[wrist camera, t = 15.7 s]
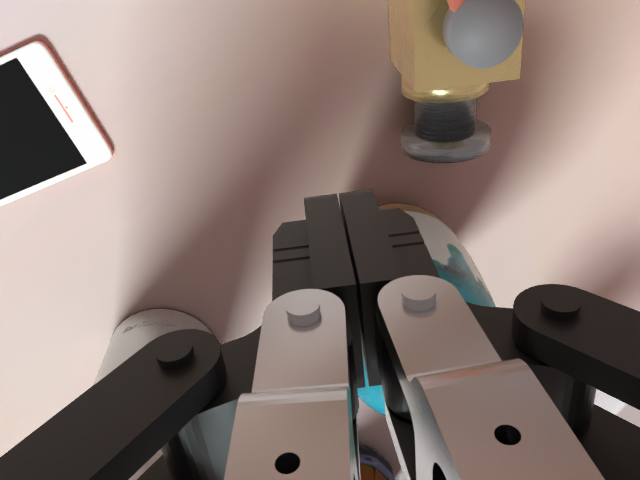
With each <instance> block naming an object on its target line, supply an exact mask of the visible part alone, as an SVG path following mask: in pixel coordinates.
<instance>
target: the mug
mask: <svg viewBox="0 0 640 480" xmlns="http://www.w3.org/2000/svg"><path fill="white" fill-rule="evenodd" d="M359 459H360V475H361V480H394V477H393V472H392V468H391V466H390V464H389V463H388V462H387V461H385V460H384V459H383V458H382V457H380V456H379V455H378V454H377V453H375V452H374V451H373V450H371V449H368V448H365V447H363V446H360V445H359Z"/></svg>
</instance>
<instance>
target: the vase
mask: <svg viewBox="0 0 640 480" xmlns="http://www.w3.org/2000/svg"><path fill="white" fill-rule="evenodd" d="M378 207H379V210H387V209H395V208H400V209H401V210H403V211H404V212H406V213H407V214H409V215H410V216H412V217H413V218H414V220H415V222H416V224H417V226H418V229H419V231H420V233H421V235H422V238H423V240H424V244H426V247H427V249H428V251H429V253H430V255H431V258H432V260H433V262H434V264H435V267H436V269H437V271H438V273H439V276H440V278H441V279H443V280H446V281H448V282H449V283H451V284H452V285H454V286H455V287H456V288H457V290H458V291H459V292H460V294H461V296H462V297H463V299H464V300H465V301H466V302H469V303H472V304H476V305H480V306H488V307H496V306H495V304H494V301H493V299H492V297H491V295H490V293H489V291H488V288H487V286H486V284H485V282H484V280H483V278H482V276H481V274H480V272H479V271H478V269H477V267H476V265H475V263H474V262H473V260H472V258H471V257H470V255H469V254H468V252H467V250H466V249H465V248H464V246H463V245H462V243H461V242H460V241H459V239H458V238H457V237H456V235H455V234H454V233H453V231H452V230H451V229H450V228H449V227H448V226H447V225H446V224H445V223H444V222H443V221H442V220H441V219H439V218H438V217H437V216H435V215H434V214H432V213H431V212H429V211H427V210H424V209H422V208H420V207H416V206H412V205H408V204H386V205H381V206H378ZM362 354H363V353H362ZM363 365H364V376H365V387H363V388H357V391H358V397H359V398H361V399H362V400H363V401H364V402H365V403H366V404H367V405H368V406H369V407H371V408H372V409H374V410H375V411H377V412H379V413H381V414H383V415H386V414H385V400H384V393H383V389H382V385H377V386H369V384H368V378H367V373H366V368H365V363H364V358H363Z"/></svg>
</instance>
